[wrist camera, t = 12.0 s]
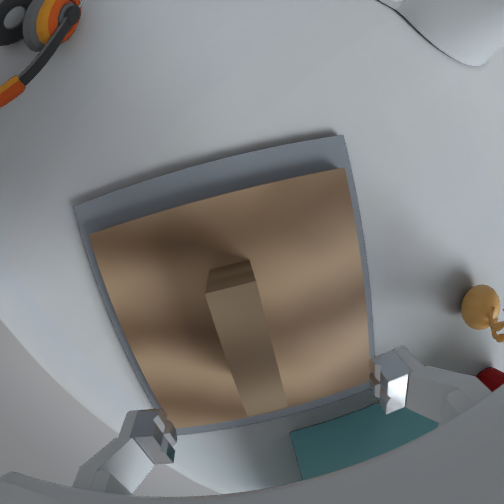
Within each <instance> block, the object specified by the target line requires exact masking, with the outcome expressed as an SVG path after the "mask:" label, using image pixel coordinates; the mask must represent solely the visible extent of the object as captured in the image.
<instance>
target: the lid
mask: <svg viewBox="0 0 504 504" xmlns="http://www.w3.org/2000/svg"><path fill="white" fill-rule="evenodd" d="M89 237H90V241H91V244H92V247H93V251H94V254H95V257H96V260H97V263H98V266H99V269H100V272H101V275H102V278H103V281H104V283H105V286H106V289H107V292H108V294H109V297H110V300H111V302H112V305H113V307H114V310H115V312H116V315H117V317H118V320H119V322H120V324H121V327H122V329H123V331H124V334H125V336H126V338H127V341H128V343H129V345H130V347H131V349H132V352H133V354H134V356H135V358H136V360H137V362H138V364H139V366H140V368H141V370H142V372H143V374H144V376H145V378H146V380H147V382H148V384H149V386H150V388H151V390H152V392H153V393H154V395H155V397H156V399H157V401H158V403H159V404H160V406H161V408H162V409H164V410H165V412H166V413H167V418H168V420H169V421H171V422H172V423H173V425H174V426H175V429H177V428H185V427H193V426H201V425H207V424H214V423H220V422H226V421H231V420H237V419H242V418H247V417H251V416H256V415H261V414H265V413H269V412H273V411H277V410H281V409H285V408H289V407H293V406H296V405H300V404H303V403H307V402H310V401H314V400H317V399H320V398H323V397H327V396H330V395H333V394H336V393H339V392H342V391H344V390H347V389H350V388H353V387H356V386H358V385H361V384H364V383H366V382H369V374H370V369H369V364H368V362H369V359H370V353H369V335H368V321H367V309H366V299H365V289H364V280H363V272H362V264H361V256H360V249H359V243H358V236H357V230H356V224H355V218H354V212H353V207H352V201H351V196H350V191H349V186H348V181H347V176H346V172H345V167H344V168H337V169H332V170H327V171H322V172H317V173H312V174H307V175H303V176H298V177H293V178H289V179H284V180H280V181H275V182H271V183H267V184H262V185H258V186H254V187H250V188H246V189H242V190H238V191H234V192H230V193H226V194H222V195H218V196H214V197H210V198H207V199H203V200H199V201H196V202H192V203H188V204H185V205H181V206H178V207H174V208H171V209H167V210H164V211H161V212H157V213H154V214H151V215H147V216H144V217H141V218H138V219H134V220H131V221H128V222H125V223H122V224H119V225H116V226H112V227H109V228H106V229H103V230H100V231H97V232H95V233H92V234H89Z"/></svg>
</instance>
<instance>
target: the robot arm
mask: <svg viewBox="0 0 504 504" xmlns="http://www.w3.org/2000/svg"><path fill="white" fill-rule="evenodd" d="M379 1H381V2H383V3H385V4H386V5H388V6H390V7H392V8H393V9H395V10H397V11H398V12H399V13H400V14H402V15H403V16H404V17H405V18H406V19H407V20H408V21H409V22H410V23H411V24H412V25H413V26H414V27H415V28H416V29H417V30H418V31H419V32H420V33H421V34H422V35H423V36H424V37H425V38H427V39H428V40H429V41H430V42H431V43H432V44H434V45H435V46H436V47H437V48H439V49H440V50H441V51H443V52H444V53H446V54H447V55H449V56H450V57H452V58H454V59H455V60H457V61H459V62H462V63H464V64H467V65H471V66H480V65H483V64H485V63H486V62H487V61H488V60H489V59H490V58H491V57H492V56H493V55H494V54H495V53H496V52H497V51H499V50H500V49H501V48H503V47H504V0H379ZM368 364H369V369H370V370H371V373H370V374H369V384H370V388H371V390H372V393H373V394H374V396H375V397H378V398H379V404H380V406H381V407H382V409H383V410H384V412H385V414H388V413H391V412H393V411H396V410H398V409H401V408H403V407H405V406H406V408H408V409H410V410H412V411H414V412H416V413H418V414H420V415H423V416H425V417H427V418H429V419H431V420H434V421H436V422H438V423H439V425H438V427H437V428H436V429H434V430H432V431H430V432H428V433H426V434H424V435H422V436H421V437H419V438H417V439H415V440H413V441H411V442H408V443H406V444H404V445H402V446H400V447H398V448H395V449H393V450H391V451H389V452H386V453H384V454H382V455H379V456H377V457H374V458H372V459H369V460H367V461H364V462H361V463H359V464H356V465H353V466H350V467H347V468H344V469H341V470H338V471H335V472H332V473H328V474H325V475H322V476H318V477H315V478H311V479H307V480H303V481H299V482H295V483H290V484H286V485H281V486H276V487H271V488H265V489H260V490H253V491H246V492H239V493H231V494H221V495H209V496H193V497H192V496H191V497H153V496H152V497H150V496H134V495H133V494H132V493H133V492H134V490H135V489H136V488H137V486H138V485H139V484H140V483H141V482H142V481H143V479H144V478H145V477H146V476H147V474H148V473H149V472H150V471H151V469H152V468H153V467H154V464H169V463H173V462H174V455H175V450H174V449H173V446H174V445H175V444H176V442H177V433H176V429H175V426H174V425H173V423H172V422H171V421H169V420H168V419H167V413H166V412H165V410H164V409H148V410H134V411H129V412H127V414H126V417H125V420H124V423H123V426H122V428H121V431H120V434H119V437H118V438H115V439H113V440H112V441H111V442H110V443H109V444H107V445H106V446H105V447H104V448H103V449H102V450H100V451H99V452H98V453H97V454H95V455H94V456H93V457H92V458H90V459H89V460H88V461H87V462H86V463H84V464H83V465H82V466H80V468H79V470H78V473H77V476H76V478H75V481H74V483H73V486H72V487H69V486H64V485H60V484H56V483H51V482H47V481H44V480H40V479H37V478H33V477H30V476H27V475H24V474H21V473H18V472H8V473H6V474H4V475H2V476H0V504H504V384H503V385H501V386H500V387H499V388H497V389H496V390H495V391H493V392H491V391H490V390H489V389H488V388H487V387H486V386H485V385H484V384H483V383H482V382H481V381H480V380H479V379H478V378H477V377H476V376H471V375H467V374H462V373H458V372H453V371H449V370H445V369H441V368H437V367H433V366H428V365H426V366H423V365H422V364H421V363H420V362H419V361H418V359H417V358H416V357H415V356H414V355H413V354H412V353H411V352H410V351H409V350H408V349H407V348H406V347H405V346H400V347H398V348H396V349H394V350H392V351H389V352H387V353H384V354H382V355H379V356H377V357H374V358H371V359H369V362H368Z"/></svg>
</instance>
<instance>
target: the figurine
mask: <svg viewBox="0 0 504 504" xmlns="http://www.w3.org/2000/svg"><path fill="white" fill-rule="evenodd" d="M499 310H500V301H499V297H498V295H497V293H496V292H495V290H494V289H492V288H491V287H489V286H487V285H477V286H475V287H473V288H471V289H470V290H469V291H468V292H467V293H466V295H465V296H464V299H463V301H462V306H461V312H462V317H463V319H464V321H465V323H466V324H467V325H468V326H469V327H471V328H473V329H477V330H481V329H485V328H487V327H489V326H490V327H491V331H492V336H493V338H494V339H496V341H497V342H503V341H504V334H499V335H497V333H496V331H500V330H501V329H502V328H503V327H504V321H503V322H498V323H497V321H498V318H497V316H498V314H499ZM503 311H504V309H503Z"/></svg>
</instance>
